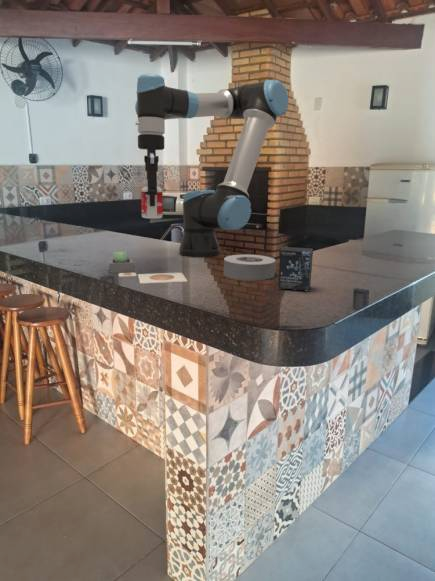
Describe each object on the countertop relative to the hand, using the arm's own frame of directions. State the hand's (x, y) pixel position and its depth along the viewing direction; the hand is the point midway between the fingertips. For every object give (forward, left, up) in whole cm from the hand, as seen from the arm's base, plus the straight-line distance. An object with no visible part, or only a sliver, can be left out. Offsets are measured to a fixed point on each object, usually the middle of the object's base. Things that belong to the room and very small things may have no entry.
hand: (151, 216), depth 131 cm
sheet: (-2, +10, -17) cm, 19 cm away
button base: (+9, -3, -17) cm, 19 cm away
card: (+8, +4, -17) cm, 19 cm away
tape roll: (-28, +10, -17) cm, 34 cm away
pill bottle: (0, 0, -1) cm, 1 cm away
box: (-35, +28, -17) cm, 47 cm away
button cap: (+9, -3, -15) cm, 18 cm away
